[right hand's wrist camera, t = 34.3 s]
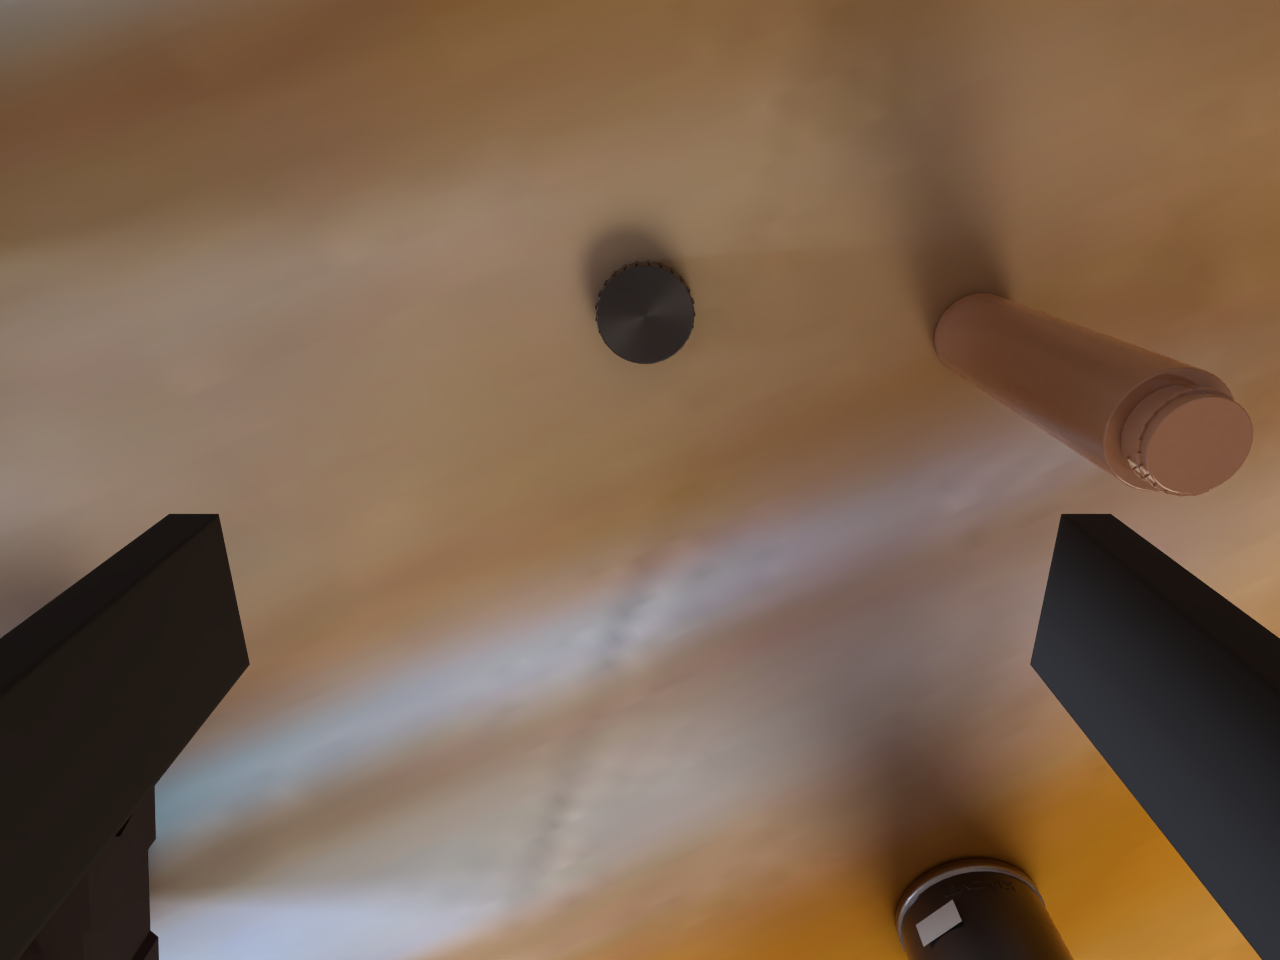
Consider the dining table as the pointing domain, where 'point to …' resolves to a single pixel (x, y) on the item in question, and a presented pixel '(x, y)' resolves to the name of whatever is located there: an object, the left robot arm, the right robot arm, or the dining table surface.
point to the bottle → (1099, 394)
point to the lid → (645, 312)
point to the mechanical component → (107, 902)
